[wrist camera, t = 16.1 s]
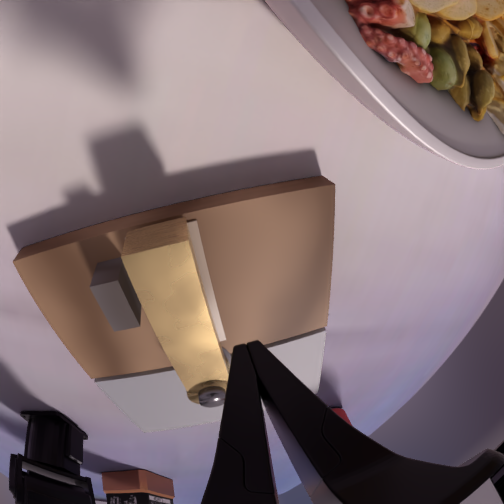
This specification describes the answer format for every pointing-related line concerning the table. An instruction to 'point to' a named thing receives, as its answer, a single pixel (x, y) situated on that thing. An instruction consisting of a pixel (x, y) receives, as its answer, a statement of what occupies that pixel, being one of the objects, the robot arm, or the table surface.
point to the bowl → (415, 67)
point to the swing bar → (178, 307)
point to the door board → (211, 270)
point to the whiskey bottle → (137, 487)
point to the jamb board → (175, 396)
